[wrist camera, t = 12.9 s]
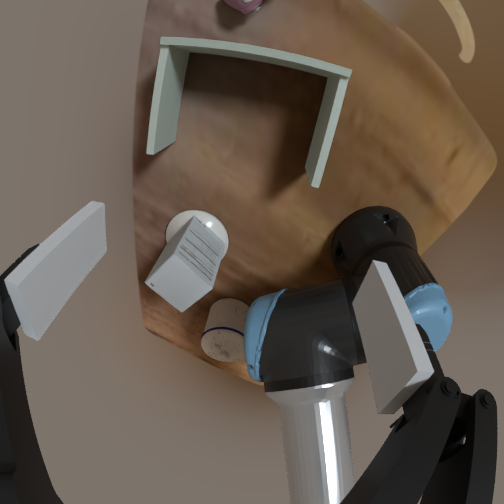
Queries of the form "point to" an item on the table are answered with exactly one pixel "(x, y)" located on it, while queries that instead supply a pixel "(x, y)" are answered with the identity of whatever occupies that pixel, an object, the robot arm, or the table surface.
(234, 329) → the teacup with lid
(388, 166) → the table surface
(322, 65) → the three-sided green enclosure
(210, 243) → the supplement box
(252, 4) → the video game controller
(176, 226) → the coaster
